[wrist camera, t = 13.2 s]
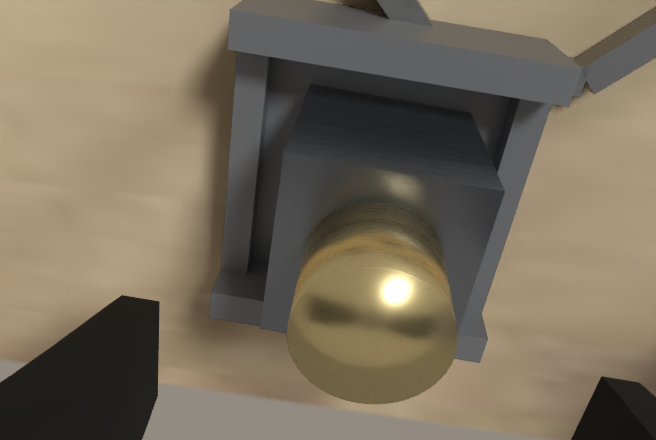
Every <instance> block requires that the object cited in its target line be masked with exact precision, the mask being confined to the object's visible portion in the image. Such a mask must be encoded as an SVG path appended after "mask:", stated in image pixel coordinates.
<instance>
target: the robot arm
mask: <svg viewBox="0 0 656 440" xmlns="http://www.w3.org/2000/svg"><path fill="white" fill-rule="evenodd" d="M158 349H159V301H153V300H147V299H141V298H135V297H129V296H123V295H122V296H121V297H119V298H118V299H116V300H115V301H113V302H112V303H110V304H109V305H108V306H106V307H105V308H103V309H102V310H101V311H99V312H98V313H97V314H95V315H94V316H93V317H91V318H90V319H89V320H87V321H86V322H85V323H83V324H82V325H81V326H79V327H78V328H77V329H75V330H74V331H73V332H71V333H70V334H68V335H67V336H66V337H64V338H63V339H62V340H60V341H59V342H58V343H56V344H55V345H53V346H52V347H51V348H49V349H48V350H46V351H45V352H44V353H42V354H41V355H39V356H38V357H36V358H35V359H34V360H32V361H31V362H29V363H28V364H26V365H25V366H24V367H22V368H21V369H19V370H18V371H16V372H15V373H14V374H12V375H11V376H9V377H8V378H6V379H5V380H3V381H2V382H1V383H0V440H142V438H143V435H144V432H145V430H146V427H147V424H148V421H149V419H150V416H151V413H152V410H153V407H154V404H155V401H156V399H157V396H158ZM571 440H656V397H655V396H654V395H653V394H651V393H650V392H649V391H648V390H647V389H646V388H645V387H643V386H642V385H641V384H640V383H638V382H632V381H626V380H620V379H614V378H608V377H601V379H600V381H599V383H598V385H597V387H596V389H595V391H594V393H593V395H592V397H591V399H590V401H589V404H588V406H587V408H586V410H585V412H584V414H583V416H582V418H581V420H580V422H579V424H578V426H577V428H576V431H575V433H574V435H573V437H572V439H571Z"/></svg>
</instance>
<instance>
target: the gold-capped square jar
mask: <svg viewBox="0 0 656 440" xmlns="http://www.w3.org/2000/svg"><path fill="white" fill-rule="evenodd" d="M504 193H505V190H504V188H503V185H502V183H501V181H500V178H499V176H498V174H497V171H496V169H495V167H494V164H493V162H492V160H491V158H490V155H489V153H488V151H487V148H486V146H485V144H484V141H483V139H482V137H481V134H480V132H479V130H478V128H477V125H476V123H475V121H474V118H473V116H472V114H471V113H469V112H464V111H458V110H453V109H447V108H442V107H436V106H431V105H425V104H419V103H414V102H408V101H403V100H397V99H392V98H386V97H380V96H375V95H369V94H364V93H358V92H353V91H347V90H342V89H336V88H330V87H325V86H319V85H314V84H310V85H309V88H308V90H307V93H306V95H305V98H304V101H303V103H302V106H301V108H300V111H299V114H298V116H297V119H296V121H295V124H294V127H293V129H292V132H291V134H290V137H289V140H288V142H287V145H286V147H285V150H284V154H283V161H282V169H281V176H280V184H279V191H278V198H277V206H276V213H275V221H274V228H273V236H272V243H271V250H270V258H269V265H268V273H267V280H266V288H265V295H264V303H263V310H262V317H261V325H260V329H266V330H272V331H277V332H283V333H287V342H288V347H289V351H290V354H291V356H292V359H293V361H294V362H295V364H296V366H297V367H298V369H299V370H300V371H301V373H302V374H303V375H304V376H305V377H306V378H307V379H308V380H309V381H310V382H311V383H313V384H314V385H315V386H317V387H318V388H320V389H321V390H323V391H325V392H326V393H328V394H331V395H333V396H335V397H338V398H341V399H344V400H347V401H351V402H356V403H364V404H386V403H393V402H398V401H402V400H406V399H409V398H411V397H414V396H416V395H418V394H420V393H422V392H424V391H426V390H427V389H429V388H430V387H432V386H433V385H434V384H435V383H436V382H438V381H439V380H440V379H441V378H442V377H443V375H444V374H445V373H446V372H447V370H448V369H449V367H450V366H451V364H452V362H453V359H454V357H455V354H456V350H457V345H458V332H459V329H460V326H461V323H462V320H463V317H464V314H465V311H466V308H467V305H468V302H469V299H470V296H471V293H472V290H473V287H474V284H475V281H476V278H477V275H478V272H479V269H480V266H481V263H482V260H483V257H484V254H485V251H486V248H487V245H488V242H489V239H490V236H491V232H492V229H493V226H494V223H495V220H496V217H497V214H498V211H499V208H500V205H501V202H502V199H503V196H504Z"/></svg>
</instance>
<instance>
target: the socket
mask: <svg viewBox="0 0 656 440" xmlns="http://www.w3.org/2000/svg"><path fill="white" fill-rule="evenodd" d="M377 1H378V3H379V4H380V6H381V7H382V9H383V10H384V12H385V13H386V15H387V16H388V18H389V19H390V20H396V21H402V22H408V23H413V24H419V25H425V26H431V27H433V25H432V23H431V20H430V19H429V17H428V16H427V14H426V12H425V11H424V9H423V8H422V6H421V5H420V3H419V1H418V0H377ZM569 58H570V59H571V60H573V61H574V62H575V63H576V64H577V65H579V66H580V67H581V68H582V71H581V74H580V77H579V79H578V82H577V85H576V88H575V91H574V94H573V96H575V97H580V96H581V93H582V90H583V87H584V86H585V87H586V88H588V89H589V90H590V91H591V92H592V93H593V94H596V93H597V92H599V91H601V90H602V89H604V88H606V87H607V86H609V85H611V84H612V83H614V82H616V81H617V80H619V79H621V78H622V77H624V76H626V75H627V74H629V73H631V72H632V71H634V70H636V69H638V68H639V67H641V66H643V65H644V64H646V63H648V62H649V61H651V60H653V59H654V58H656V7H655V8H653V9H652V10H650V11H648V12H647V13H645V14H644V15H642V16H640V17H639V18H637V19H636V20H634V21H632V22H631V23H629V24H628V25H626V26H625V27H623V28H621V29H620V30H618V31H617V32H615V33H613V34H612V35H610V36H609V37H607V38H605V39H604V40H602V41H601V42H599V43H597V44H596V45H594V46H593V47H591V48H589V49H588V50H586V51H585V52H583V53H581V54H580V55H578V56H577V57H575V58H572V57H569Z"/></svg>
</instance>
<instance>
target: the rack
mask: <svg viewBox="0 0 656 440" xmlns="http://www.w3.org/2000/svg"><path fill="white" fill-rule="evenodd" d="M431 23H432V25H433V27H431V26H425V25H419V24H413V23H408V22H402V21H396V20H390V19H389V18H388V16H387V15H386V13H385V12H379V11H373V10H367V9H361V8H355V7H350V6H344V5H338V4H332V3H326V2H320V1H314V0H242V1H241V2H240V3H238V4H237V5H235V6H234V7H233V8H231V9H230V19H229V34H228V49H227V50H233V51H237V61H236V75H235V88H234V101H233V114H232V127H231V141H230V154H229V167H228V180H227V193H226V207H225V220H224V233H223V246H222V259H221V270H220V273H219V275H218V277H217V280H216V282H215V284H214V287H213V289H212V291H211V298H210V313H209V318H213V319H219V320H225V321H231V322H237V323H243V324H249V325H255V326H260V325H261V317H262V310H263V303H264V295H265V288H266V280H267V273H268V265H269V258H270V250H271V243H272V236H273V228H274V221H275V213H276V206H277V198H278V191H279V184H280V176H281V169H282V161H283V154H284V150H285V147H286V145H287V142H288V140H289V137H290V134H291V132H292V129H293V127H294V124H295V121H296V119H297V116H298V114H299V111H300V108H301V106H302V103H303V101H304V98H305V95H306V93H307V90H308V88H309V85H310V84H314V85H319V86H325V87H330V88H336V89H342V90H347V91H353V92H358V93H364V94H369V95H375V96H380V97H386V98H392V99H397V100H403V101H408V102H414V103H419V104H425V105H431V106H436V107H442V108H447V109H453V110H458V111H464V112H469V113H471V114H472V116H473V118H474V121H475V123H476V125H477V128H478V130H479V132H480V134H481V137H482V139H483V141H484V144H485V146H486V148H487V151H488V153H489V155H490V158H491V160H492V162H493V164H494V167H495V169H496V171H497V174H498V176H499V178H500V181H501V183H502V185H503V188H504V190H505V193H504V196H503V199H502V202H501V205H500V208H499V211H498V214H497V217H496V220H495V223H494V226H493V229H492V232H491V236H490V239H489V242H488V245H487V248H486V251H485V254H484V257H483V260H482V263H481V266H480V269H479V272H478V275H477V278H476V281H475V284H474V287H473V290H472V293H471V296H470V299H469V302H468V305H467V308H466V311H465V314H464V317H463V320H462V323H461V326H460V329H459V332H458V345H457V350H456V354H455V357H454V359H459V360H465V361H471V362H477V363H480V360H481V357H482V354H483V352H484V349H485V346H486V343H487V340H488V337H487V333H486V329H485V325H484V321H483V317H482V311H483V308H484V305H485V302H486V299H487V296H488V293H489V290H490V287H491V284H492V281H493V278H494V275H495V272H496V269H497V266H498V263H499V260H500V257H501V254H502V251H503V248H504V245H505V242H506V239H507V236H508V233H509V230H510V227H511V224H512V221H513V218H514V215H515V212H516V209H517V206H518V203H519V200H520V197H521V194H522V191H523V188H524V185H525V182H526V179H527V176H528V173H529V170H530V167H531V164H532V161H533V158H534V155H535V152H536V149H537V146H538V143H539V141H540V138H541V135H542V132H543V129H544V126H545V123H546V120H547V117H548V114H549V111H550V108H551V105H552V104H554V105H560V106H566V107H569V105H570V102H571V99H572V97H573V94H574V91H575V88H576V85H577V82H578V79H579V77H580V74H581V71H582V68H581V67H580V66H579V65H577V64H576V63H575V62H574V61H573V60H571V59H570V58H569V57H568V56H566V55H565V54H564V53H563V52H562V51H560V50H559V49H558V48H557V47H556V46H554V45H553V44H552V43H551V42H549V41H548V40H546V39H540V38H534V37H528V36H522V35H516V34H510V33H504V32H498V31H492V30H486V29H480V28H474V27H468V26H463V25H457V24H451V23H445V22H439V21H433V20H431Z"/></svg>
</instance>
